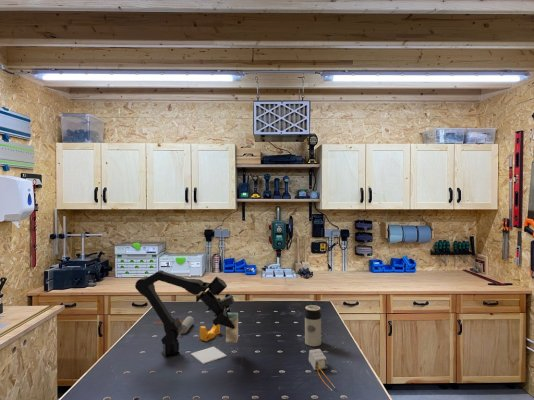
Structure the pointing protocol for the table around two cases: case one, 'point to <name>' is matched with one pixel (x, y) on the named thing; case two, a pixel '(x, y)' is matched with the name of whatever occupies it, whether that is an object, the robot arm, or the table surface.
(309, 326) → the travel mug
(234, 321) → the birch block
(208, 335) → the pipe clamp
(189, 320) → the motor
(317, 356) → the electrical component
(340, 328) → the table surface
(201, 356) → the grey pad
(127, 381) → the table surface
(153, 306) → the robot arm
